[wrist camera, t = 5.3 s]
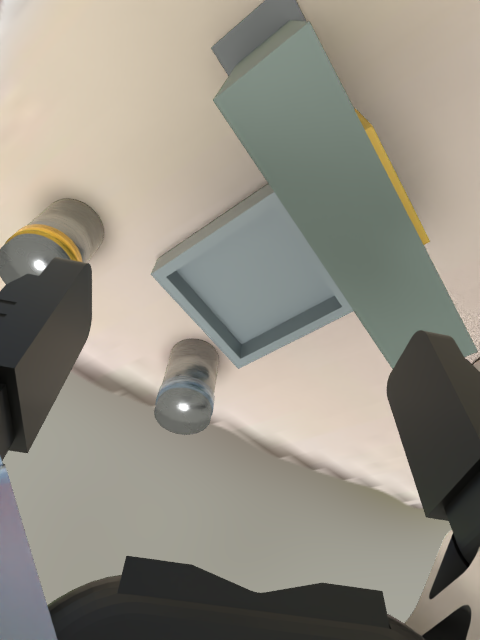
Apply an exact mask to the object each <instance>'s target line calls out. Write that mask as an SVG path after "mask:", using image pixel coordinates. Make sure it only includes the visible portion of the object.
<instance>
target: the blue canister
mask: <svg viewBox="0 0 480 640" xmlns="http://www.w3.org/2000/svg"><path fill="white" fill-rule="evenodd" d="M218 362H219V356H218V353H217V351H216V350H215V348H214V347H213V346H212V345H210V344H209V343H207V342H205V341H203V340H199V339H186V340H183V341H180V342H179V343H177V344H176V345H175V346H174V347H173V349H172V351H171V355H170V358H169V362H168V365H167V369H166V372H165V376H164V379H163V383H162V385H161V387H160V389H159V392H158V395H157V399H156V407H155V411H154V414H155V418H156V420H157V422H158V423H159V424H160V425H161V426H162V427H163V428H165V429H166V430H168V431H170V432H173V433H176V434H184V435H190V434H195V433H198V432H200V431H203V430H204V429H205V428H206V427H207V426H208V425H209V423H210V419H211V415H212V413H213V406H214V390H215V383H216V376H217V369H218Z"/></svg>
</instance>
